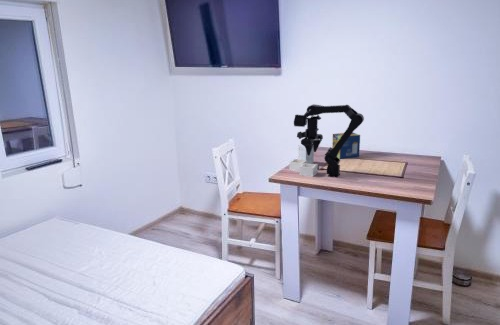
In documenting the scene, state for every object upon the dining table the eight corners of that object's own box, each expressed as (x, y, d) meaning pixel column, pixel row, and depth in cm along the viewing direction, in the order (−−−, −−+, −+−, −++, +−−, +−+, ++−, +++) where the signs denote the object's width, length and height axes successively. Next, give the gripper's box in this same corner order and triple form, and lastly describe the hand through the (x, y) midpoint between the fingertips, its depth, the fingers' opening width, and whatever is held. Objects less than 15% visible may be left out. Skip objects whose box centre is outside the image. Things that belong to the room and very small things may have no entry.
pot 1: (306, 169, 227) (306, 160, 225) (302, 173, 220) (302, 163, 218) (294, 168, 230) (294, 158, 229) (289, 171, 224) (289, 162, 222)
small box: (313, 166, 234) (314, 145, 231) (305, 167, 231) (305, 147, 228) (305, 163, 241) (306, 143, 238) (297, 164, 238) (297, 144, 235)
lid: (312, 169, 230) (312, 161, 228) (325, 170, 226) (325, 163, 224) (306, 172, 222) (307, 164, 221) (320, 174, 218) (321, 166, 217)
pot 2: (317, 174, 217) (317, 164, 215) (312, 178, 210) (312, 168, 208) (304, 172, 220) (304, 163, 219) (299, 176, 213) (299, 166, 212)
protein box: (331, 155, 258) (332, 133, 254) (351, 153, 262) (352, 132, 258) (339, 159, 248) (340, 136, 244) (359, 157, 253) (360, 134, 249)
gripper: (305, 123, 223) (305, 149, 227) (292, 128, 208) (292, 155, 212) (323, 124, 218) (322, 150, 222) (311, 130, 202) (310, 157, 206)
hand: (311, 153), depth 216 cm, fingers open, 9 cm apart
